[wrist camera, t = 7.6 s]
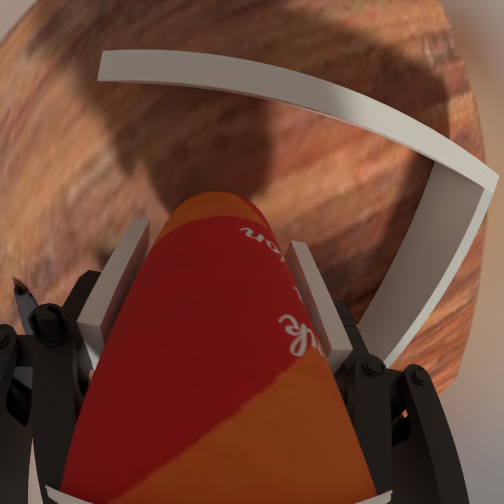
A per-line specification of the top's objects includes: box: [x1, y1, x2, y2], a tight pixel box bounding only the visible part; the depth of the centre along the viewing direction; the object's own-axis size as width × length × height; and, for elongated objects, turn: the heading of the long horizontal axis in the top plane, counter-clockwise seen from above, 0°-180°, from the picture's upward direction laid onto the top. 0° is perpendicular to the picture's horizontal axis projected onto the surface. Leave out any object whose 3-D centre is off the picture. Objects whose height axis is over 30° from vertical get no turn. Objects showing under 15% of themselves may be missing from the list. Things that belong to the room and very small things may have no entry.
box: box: [97, 50, 499, 368], centre depth 15 cm, size 20×17×5 cm
